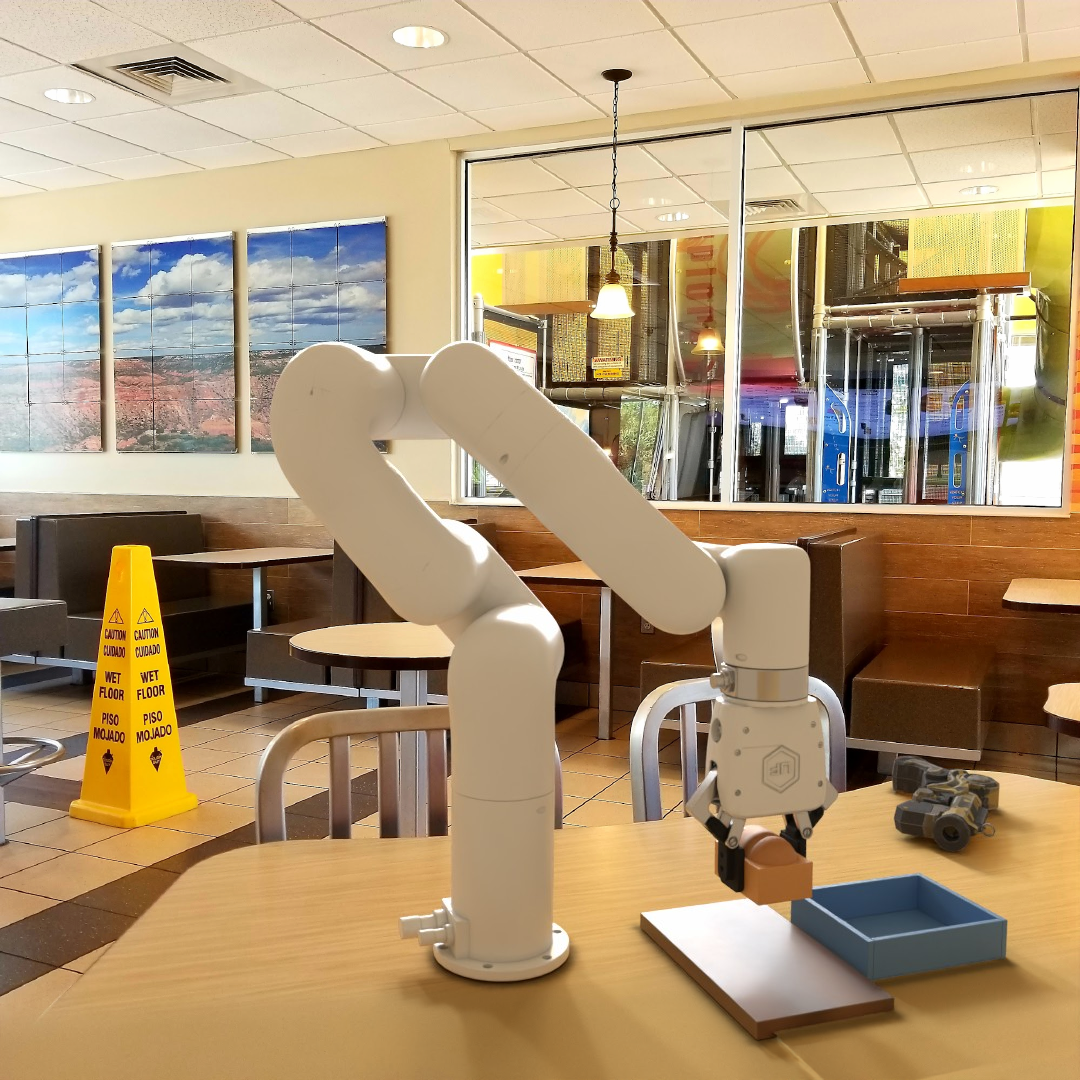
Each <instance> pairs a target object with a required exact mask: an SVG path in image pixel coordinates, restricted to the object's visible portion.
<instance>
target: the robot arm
mask: <svg viewBox="0 0 1080 1080" xmlns="http://www.w3.org/2000/svg"><path fill="white" fill-rule="evenodd" d="M269 431H270V439H271V444H272V448H273V451H274V455H275V458H276V460H277V463H278V465H279V467H280V469H281V471H282V473H283V475H284V477H285V478H286V480H287V482H288V483H289V485H290V486H291V488H292V489H293V491H294V492H295V494H296V495H297V496H298V498H299V499H300V500H301V501H302V502H303V504H304V505H305V506H306V507H307V508H308V510H309V511H310V512H311V513H312V514H313V515H314V516H315V518H316V519H317V520H318V521H319V522H320V523H321V525H322V526H323V527H324V528H325V530H326V531H327V532H328V533H329V534H330V535H331V536H332V538H333V539H334V540H335V541H336V543H337V544H338V545H339V547H340V548H341V549H342V551H343V552H344V553H345V554H346V555H347V557H348V559H350V560H351V561H352V562H353V563H354V564H355V566H356V567H357V568H358V569H359V570H360V572H361V573H362V574H363V575H364V576H365V578H366V579H367V580H368V581H369V582H370V583H371V584H372V586H373V587H374V588H375V590H376V591H377V592H378V593H379V595H380V596H381V597H382V598H383V599H384V601H385V602H386V603H387V604H388V606H389V607H390V608H391V609H392V610H393V611H394V612H395V613H396V614H397V615H398V616H399V617H400V618H402V619H404V620H405V621H407V622H409V623H412V624H415V625H418V626H425V627H430V626H437V627H438V628H439V629H440V630H441V631H442V633H443V634H444V635H445V636H446V637H447V639H448V640H449V641H450V642H451V643H452V644H453V645H454V646H453V649H452V651H451V654H450V657H449V663H448V669H447V679H446V680H447V684H446V686H447V703H448V715H449V727H450V758H451V759H450V761H451V762H450V787H451V788H450V789H451V791H450V792H451V793H450V794H451V799H450V801H451V802H450V804H451V806H450V816H451V817H450V897H446V898H445V897H443V898H441V908H439V909H433V910H432V911H431V914H425V915H420V914H417V915H415V914H414V915H408V916H401V917H400V916H399V917H398V934H399V939H400V940H408V939H409V940H410V939H416V938H417V941H418V945H419V947H420V948H421V947H427V946H428V947H429V946H432V947H433V948H432V952H433V956H434V958H435V960H436V961H437V963H438V964H440V965H441V966H442V967H443V968H444V969H446V970H448V971H449V972H451V973H453V974H455V975H459V976H461V977H465V978H469V979H472V980H478V981H486V982H500V983H501V982H503V983H504V982H518V981H524V980H530V979H534V978H537V977H542V976H544V975H547V974H548V973H549V974H550V973H551V972H553V971H555V970H556V969H558V968H560V966H562V965H563V964H564V963H565V962H566V961H567V959H568V958H569V955H570V945H571V944H570V937H569V935H568V933H567V932H566V930H564V929H563V927H561V926H560V925H558V924H557V923H556V922H554V883H555V879H554V877H555V875H554V874H555V816H556V812H555V811H556V810H555V809H556V711H555V710H556V709H555V708H556V688H557V687H556V686H557V680H558V676H559V674H560V671H561V668H562V666H563V662H564V657H565V642H564V636H563V633H562V631H561V628H560V626H559V624H558V623H557V620H556V619H555V618H554V616H553V615H552V614H551V612H550V611H549V610H548V609H547V607H545V606H544V604H543V603H542V601H540V600H539V598H538V597H537V596H536V595H535V594H534V593H533V591H532V590H531V589H530V588H529V587H528V586H527V585H526V584H525V582H524V581H523V580H522V579H521V578H520V577H519V576H518V575H517V573H516V572H515V571H514V570H513V569H512V567H511V566H510V565H509V564H508V563H507V562H506V561H505V560H504V558H503V557H502V556H501V555H500V554H499V552H498V551H497V550H496V549H495V548H494V547H493V546H492V545H491V544H490V542H489V541H488V540H486V538H485V537H483V535H481V534H480V533H479V532H478V531H476V530H475V529H474V528H472V527H471V526H470V525H468V524H466V523H463V522H461V521H457V520H453V519H447V518H441V517H440V516H439V515H438V514H437V513H436V512H435V511H434V510H433V509H432V508H431V507H430V506H429V505H428V503H426V501H424V499H423V498H422V497H421V496H420V495H419V494H418V493H417V492H416V490H415V489H414V488H413V487H412V485H411V484H410V483H409V481H408V480H407V479H406V478H405V476H404V475H403V474H402V473H401V472H400V471H399V470H398V468H396V467H395V466H394V465H393V464H392V463H391V462H390V461H389V460H388V459H387V458H386V457H385V456H384V455H383V454H382V453H381V451H380V450H379V449H378V448H377V446H376V445H375V444H374V443H375V442H373V441H402V440H403V441H406V440H407V441H409V440H410V441H414V440H415V441H416V440H418V441H422V440H423V441H424V440H425V441H427V440H430V441H432V440H433V441H435V440H436V441H437V440H452V441H453V442H455V443H456V444H457V445H458V446H459V447H460V448H461V449H462V450H463V451H464V452H466V453H467V455H469V456H470V457H471V458H472V459H474V460H475V461H476V462H477V464H479V465H480V466H482V467H483V469H484V470H486V471H487V472H488V473H489V474H490V475H491V476H492V477H493V478H495V480H497V482H499V483H500V484H501V485H502V486H503V487H504V489H506V490H507V491H508V492H509V493H510V494H511V495H513V497H515V498H516V499H517V500H518V501H519V502H520V503H521V504H522V505H523V506H524V507H525V508H526V509H527V510H529V511H530V512H531V514H533V516H535V517H536V519H537V520H538V521H539V522H540V523H541V524H542V525H543V526H544V527H545V528H546V529H547V530H548V531H550V532H551V533H552V534H553V535H554V536H555V537H556V538H558V539H559V540H560V541H561V542H562V543H563V544H564V545H565V546H566V547H567V548H568V549H570V551H571V552H572V553H573V554H574V555H575V556H576V557H577V558H578V559H579V560H580V561H581V562H582V563H584V564H585V565H586V567H588V569H590V570H591V571H592V572H593V573H594V574H595V575H596V576H597V577H598V578H599V580H601V581H602V582H603V583H604V584H606V586H608V587H609V588H610V589H611V590H612V591H613V592H614V593H615V594H616V595H618V596H619V597H620V598H621V599H622V600H623V601H624V602H625V603H626V604H627V605H628V606H629V607H631V608H632V609H633V610H634V611H635V612H636V613H637V614H638V615H639V616H641V617H642V618H643V619H644V620H645V621H646V622H648V623H649V624H650V625H651V626H653V627H655V628H657V629H659V630H660V631H662V632H666V633H667V634H672V635H690V634H694V633H698V632H700V631H703V630H704V629H706V628H707V627H708V626H710V625H711V624H712V623H713V622H714V621H715V620H716V619H717V618H720V619H721V620H722V661H721V663H720V671H718V672H717V673H711V674H710V676H709V685H710V687H711V689H713V690H716V689H719V690H720V691H719V692H720V693H721V696H716V697H715V702H714V705H713V709H712V713H711V718H710V723H709V730H708V737H707V745H706V756H705V775H704V779H703V780H702V782H701V783H700V784H699V786H698V787H697V789H695V791H694V793H693V794H692V795H691V796H690V798H689V799H688V801H687V802H686V803H685V806H684V809H685V811H686V812H687V814H689V815H690V816H691V817H692V818H693V819H694V820H696V821H697V822H698V823H700V825H702V826H703V828H705V830H707V831H708V833H710V835H711V836H712V837H713V838H714V840H718V875H719V877H718V878H719V879H720V882H721V883H722V884H723V885H725V886H726V887H728V889H730V890H731V891H733V892H734V893H735V894H736V893H740V892H742V891H743V890H744V860H745V850H744V848H742V847H741V846H739V842H740V839H741V835H742V832H743V829H744V826H746V822H747V820H749V819H759V818H767V817H768V818H769V817H776V816H782V820H783V824H784V829H780V832H779V834H778V836H780V837H782V838H784V839H785V840H786V841H787V842H789V843H790V844H791V845H792V847H793V848H794V850H795V852H797V853H798V854H800V855H802V856H803V857H805V858H807V840H810V839H811V838H812V836H813V835H814V828H815V827H816V825H817V824H818V823H819V821H820V820H821V819H822V818H823V817H824V815H825V811H827V810H828V809H829V808H830V807H831V806H832V805H833V803H835V801H836V800H837V799H838V797H839V792H838V790H837V789H836V787H834V785H833V784H832V783H831V782H830V780H829V779H828V778H827V768H826V767H827V766H826V765H827V764H826V751H825V741H824V740H825V739H824V732H823V725H822V719H821V715H820V709H819V704H818V701H817V698H816V697H813V696H811V695H809V682H810V681H809V680H810V679H809V677H810V675H809V671H810V665H809V663H810V662H809V661H810V656H809V655H810V621H811V620H810V618H811V616H810V615H811V614H810V613H811V560H810V557H809V554H808V552H806V550H804V548H802V547H799V546H797V545H791V544H786V543H785V544H784V543H743V544H738V545H724V544H715V543H709V542H708V543H707V542H700V541H695V540H692V539H690V538H689V536H688V535H686V534H685V533H684V532H683V531H682V530H681V529H680V528H678V527H677V526H676V525H675V524H674V523H673V522H671V520H669V519H668V518H667V517H666V516H665V515H664V514H663V513H662V512H661V511H660V510H659V509H657V507H655V506H654V504H652V503H651V502H650V501H649V500H648V499H647V498H646V497H645V496H644V495H643V494H642V493H640V491H638V489H637V488H635V487H634V486H633V484H631V482H629V480H628V479H627V478H626V477H625V476H624V474H622V472H620V470H619V469H618V467H616V465H615V464H614V462H613V461H612V459H611V458H610V456H609V455H608V454H607V453H606V451H605V450H604V449H603V448H602V447H601V446H600V445H599V444H598V443H597V442H596V441H595V440H594V439H593V438H592V437H591V436H590V435H589V434H588V433H587V432H585V431H584V430H583V428H581V427H580V426H579V425H578V424H577V423H575V422H574V421H573V420H572V419H571V418H570V417H569V416H568V415H566V414H565V413H564V412H563V411H562V410H561V409H560V408H558V406H556V405H555V404H554V403H553V401H551V400H550V399H549V398H547V396H546V395H544V394H543V392H541V391H540V390H539V389H538V388H536V386H535V385H534V384H532V383H531V382H530V381H529V380H528V379H527V378H526V377H524V376H523V374H522V373H520V372H519V371H518V370H517V369H516V368H515V367H514V366H513V365H512V364H511V363H510V362H509V361H508V360H507V359H506V358H505V357H504V356H503V355H501V354H500V353H498V352H497V351H496V350H495V349H493V348H491V347H490V346H488V345H486V344H484V343H481V342H479V341H473V340H460V341H454V342H452V343H449V344H447V345H445V346H443V347H441V348H440V349H439V350H438V351H436V352H435V353H431V354H375V353H373V352H371V351H368V350H366V349H363V348H361V347H358V346H356V345H354V344H350V343H345V342H338V341H327V342H320V343H316V344H312V345H309V346H308V347H305V348H303V349H302V350H300V351H299V352H298V353H296V355H294V356H293V357H292V358H291V359H290V361H288V363H287V364H286V366H285V367H284V368H283V370H282V371H281V373H280V376H279V377H278V380H277V382H276V385H275V388H274V390H273V394H272V399H271V404H270V411H269ZM711 804H712V805H714V806H718V807H719V809H718V811H717V816H715V815H714V814H713V813H712V812H711V811H710V805H711Z"/></svg>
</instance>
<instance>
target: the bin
mask: <svg viewBox="0 0 1080 1080" xmlns="http://www.w3.org/2000/svg"><path fill="white" fill-rule="evenodd" d="M790 922H791V923H792V924H794V925H795V926H797V927H798V928H799V929H801V930H802V931H803V932H805V933H806V934H808V935H809V936H810V937H812V938H813V939H814V940H816V941H817V942H819V943H820V944H821V945H823V946H824V947H825V948H827V949H828V950H830V951H831V952H832V953H834V954H835V955H836V956H838V957H839V958H841V959H842V960H843V961H845V962H846V963H847V964H849V965H850V966H852V967H853V968H854V969H856V970H857V971H858V972H860V973H861V974H863V975H864V976H865V977H867V978H868V979H869V980H871V981H872V982H873V981H877V980H883V979H889V978H890V979H891V978H895V977H901V976H906V975H907V976H908V975H913V974H919V973H924V972H930V971H935V970H943V969H947V968H954V967H959V966H964V965H971V964H976V963H982V962H989V961H994V960H999V959H1005V958H1006V957H1007V942H1008V941H1007V939H1008V919H1006V918H1004V917H1003V916H1001V915H999V914H998V913H996V912H994V911H992V910H990V909H987V908H986V907H984V906H983V905H980V904H978V903H977V902H975V901H973V900H971V899H969V898H968V897H965V896H964V895H962V894H960V893H958V892H957V891H954V890H953V889H951V888H949V887H947V886H945V885H944V884H941V883H940V882H938V881H936V880H934V879H933V878H931V877H929V876H926V875H925V874H923V873H921V872H913V873H907V874H899V875H891V876H883V877H876V878H868V879H862V880H854V881H848V882H840V883H833V884H832V883H831V884H825V885H817V886H812V898H807V899H800V900H793V901H790Z"/></svg>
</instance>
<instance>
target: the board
mask: <svg viewBox="0 0 1080 1080" xmlns="http://www.w3.org/2000/svg"><path fill="white" fill-rule="evenodd" d="M639 917H640V919H639V928H640V929H641V930H642V931H644V933H645V934H646V935H648V937H649V938H650V939H652V940H653V941H654V942H655V943H656V945H658V946H659V948H661V949H662V950H663V951H664V952H665V953H666V954H667V955H668V956H669V957H670V958H671V959H672V960H673V961H674V962H675V963H676V964H677V965H679V966H680V968H681V969H682V970H684V971H685V972H686V973H687V974H688V975H689V976H690V977H691V978H692V979H693V980H694V981H695V982H696V983H697V984H698V985H699V986H700V987H701V988H702V989H703V990H705V992H706V993H707V994H708V995H709V996H710V997H712V999H713V1000H715V1002H716V1003H718V1004H719V1005H720V1006H721V1007H722V1008H723V1009H724V1010H725V1011H726V1012H727V1013H728V1014H729V1015H730V1016H731V1017H732V1018H733V1019H734V1020H735V1021H736V1022H738V1024H739V1025H740V1026H741V1027H743V1028H744V1029H745V1030H746V1031H747V1033H749V1034H750V1035H751V1036H752V1037H753V1039H755V1040H756V1041H761V1040H765V1039H770V1038H776V1037H778V1035H777V1034H776V1033H777V1032H782V1031H788V1030H793V1029H798V1028H799V1029H800V1028H803V1027H809V1026H816V1025H819V1024H825V1023H831V1022H837V1021H841V1020H847V1019H853V1018H858V1017H864V1016H869V1015H873V1014H879V1013H886V1012H891V1011H895V997H894V996H893V995H892V994H890V993H888V992H887V991H886V990H885V989H883V988H882V987H881V986H879V985H878V984H877V983H875V982H874V981H873V980H872V981H871V980H869V979H868V978H867V977H865V976H864V975H863V974H861V973H860V972H858V971H857V970H856V969H854V968H853V967H852V966H850V965H849V964H847V963H846V962H845V961H843V960H842V959H841V958H839V957H838V956H836V955H835V954H834V953H832V952H831V951H830V950H828V949H827V948H825V947H824V946H823V945H821V944H820V943H819V942H817V941H816V940H814V939H813V938H812V937H810V936H809V935H808V934H806V933H805V932H803V931H802V930H801V929H799V928H798V927H797V926H795V925H794V924H792V923H791V920H790V921H789V920H788V919H787V918H786V917H784V916H783V915H782V914H781V913H779V912H778V911H776V910H774V909H773V908H772V907H771V906H769V904H767V905H760V906H758V905H757V904H755V903H754V902H753V901H751V900H750V899H749V898H747V897H745V898H740V899H733V900H725V901H724V900H723V901H718V902H717V901H716V902H711V903H703V904H695V905H689V906H681V907H673V908H667V909H658V910H650V911H645V912H640V916H639Z"/></svg>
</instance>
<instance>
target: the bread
mask: <svg viewBox="0 0 1080 1080" xmlns="http://www.w3.org/2000/svg"><path fill="white" fill-rule="evenodd" d="M739 846H741V847H742V848H744V850H745V860H744V890H743V891H742V892H739V894H742V895H743V896H744V897H745V898H749V899H750V900H751V901H753V902H754V903H755V904H757V905H758V906H760V905H772V904H779V903H785V902H791V901H793V900H800V899H807V898H812V887H813V881H814V879H813V877H814V876H813V875H814V874H813V873H814V871H813V870H814V862H813V861H812V860H810V859H808V858H807V857H806V858H805V857H803V856H802V855H800V854H798V853H797V852H795V850H794V848H793V847H792V845H791V844H790V843H789V842H787V841H786V840H785V839H784V838H782V837H780V836H779V834H778V833H775V832H774V831H772V830H770V829H769V828H766V827H765V826H762V825H758V824H748V825H744V829H743V832H742V835H741V839H740V842H739ZM714 875H715V876H717V877H718V878H720V877H719V875H718V840H717V839H714Z"/></svg>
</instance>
